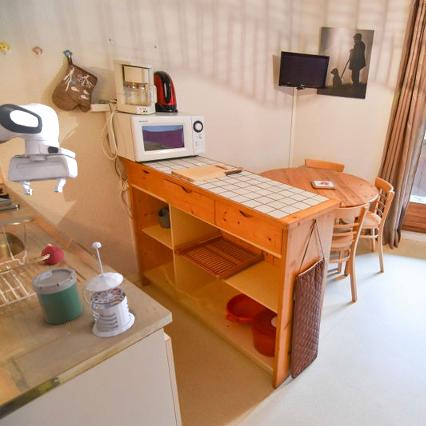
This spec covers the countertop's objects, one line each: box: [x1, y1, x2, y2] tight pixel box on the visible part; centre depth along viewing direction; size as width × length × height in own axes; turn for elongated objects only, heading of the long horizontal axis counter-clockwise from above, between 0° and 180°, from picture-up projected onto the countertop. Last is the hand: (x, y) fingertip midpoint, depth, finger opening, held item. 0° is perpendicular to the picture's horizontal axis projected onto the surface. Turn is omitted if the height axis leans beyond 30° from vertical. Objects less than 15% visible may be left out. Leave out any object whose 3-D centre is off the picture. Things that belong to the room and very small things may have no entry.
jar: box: [30, 266, 84, 325], centre depth 85 cm, size 9×9×12 cm
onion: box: [40, 243, 65, 265], centre depth 107 cm, size 6×6×8 cm
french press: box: [82, 241, 136, 338], centre depth 81 cm, size 10×12×25 cm
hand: (43, 193), depth 105 cm, fingers open, 8 cm apart
